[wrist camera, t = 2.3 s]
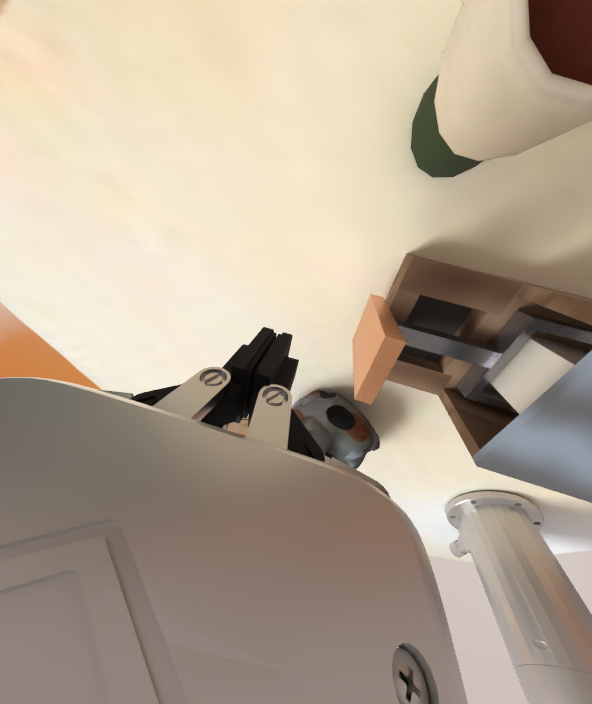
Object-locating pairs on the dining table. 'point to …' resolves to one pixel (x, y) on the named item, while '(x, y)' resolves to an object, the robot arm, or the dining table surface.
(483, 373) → the sled
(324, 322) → the dining table surface
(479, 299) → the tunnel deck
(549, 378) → the block
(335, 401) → the lucky cat figurine
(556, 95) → the character mug
